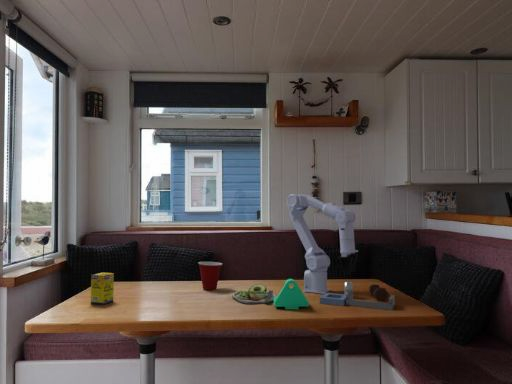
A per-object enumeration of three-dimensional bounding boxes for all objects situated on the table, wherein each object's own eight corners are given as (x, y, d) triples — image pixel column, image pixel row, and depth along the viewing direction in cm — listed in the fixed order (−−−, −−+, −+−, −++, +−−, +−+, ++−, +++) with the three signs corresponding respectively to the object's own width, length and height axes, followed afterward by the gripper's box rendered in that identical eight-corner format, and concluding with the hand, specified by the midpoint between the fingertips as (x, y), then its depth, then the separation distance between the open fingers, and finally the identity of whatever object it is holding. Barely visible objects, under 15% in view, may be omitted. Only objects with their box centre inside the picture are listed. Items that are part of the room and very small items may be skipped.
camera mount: (305, 304, 146) (305, 276, 146) (308, 309, 138) (308, 280, 139) (273, 304, 146) (273, 276, 146) (275, 309, 138) (274, 280, 138)
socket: (319, 303, 146) (319, 297, 146) (326, 298, 154) (326, 292, 154) (343, 306, 142) (343, 300, 142) (349, 300, 150) (349, 294, 150)
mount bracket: (345, 304, 144) (345, 295, 144) (350, 300, 151) (350, 291, 151) (392, 310, 136) (392, 300, 137) (394, 304, 144) (394, 295, 144)
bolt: (374, 297, 164) (383, 305, 149) (364, 291, 165) (372, 298, 150) (381, 285, 165) (391, 291, 150) (370, 279, 165) (379, 285, 150)
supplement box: (103, 305, 144) (104, 275, 144) (90, 304, 145) (90, 274, 146) (113, 301, 149) (114, 272, 150) (100, 300, 151) (101, 272, 151)
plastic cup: (227, 290, 169) (227, 262, 170) (204, 293, 163) (205, 264, 164) (215, 285, 178) (215, 259, 179) (193, 288, 172) (193, 261, 173)
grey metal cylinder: (343, 297, 155) (343, 282, 155) (345, 296, 158) (345, 281, 158) (351, 298, 153) (351, 283, 154) (353, 296, 156) (353, 281, 157)
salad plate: (287, 304, 146) (287, 291, 146) (242, 308, 140) (242, 295, 141) (269, 293, 165) (269, 282, 165) (228, 296, 159) (228, 285, 159)
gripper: (353, 240, 149) (355, 276, 148) (360, 238, 162) (363, 271, 161) (335, 240, 152) (337, 275, 151) (343, 238, 165) (346, 271, 164)
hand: (349, 273), depth 156 cm, fingers open, 7 cm apart
